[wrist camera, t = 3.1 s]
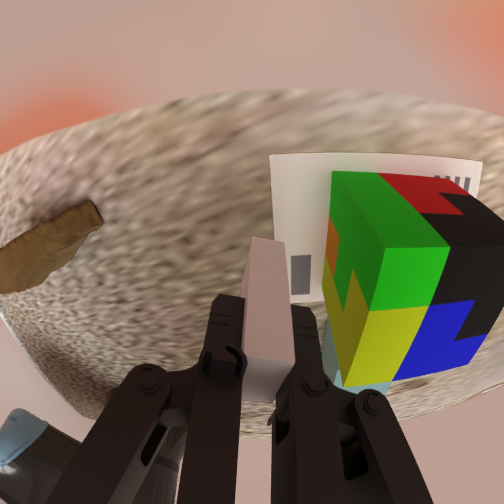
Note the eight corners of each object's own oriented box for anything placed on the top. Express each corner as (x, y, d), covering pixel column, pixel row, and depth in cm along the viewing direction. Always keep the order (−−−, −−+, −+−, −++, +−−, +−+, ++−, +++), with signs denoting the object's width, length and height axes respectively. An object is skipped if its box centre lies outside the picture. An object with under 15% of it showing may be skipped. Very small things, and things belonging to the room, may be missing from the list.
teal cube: (321, 356, 30) (328, 402, 25) (326, 319, 27) (337, 370, 22) (372, 350, 29) (385, 394, 24) (384, 312, 26) (402, 360, 21)
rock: (83, 174, 17) (-10, 188, 16) (61, 299, 14) (-34, 291, 13) (123, 235, 27) (45, 238, 26) (118, 322, 24) (35, 316, 23)
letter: (277, 303, 25) (277, 304, 25) (269, 154, 19) (269, 155, 18) (450, 286, 24) (451, 286, 24) (482, 161, 17) (483, 162, 17)
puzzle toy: (422, 281, 24) (467, 364, 15) (321, 286, 24) (342, 387, 16) (448, 178, 18) (531, 245, 10) (331, 170, 19) (385, 248, 10)
